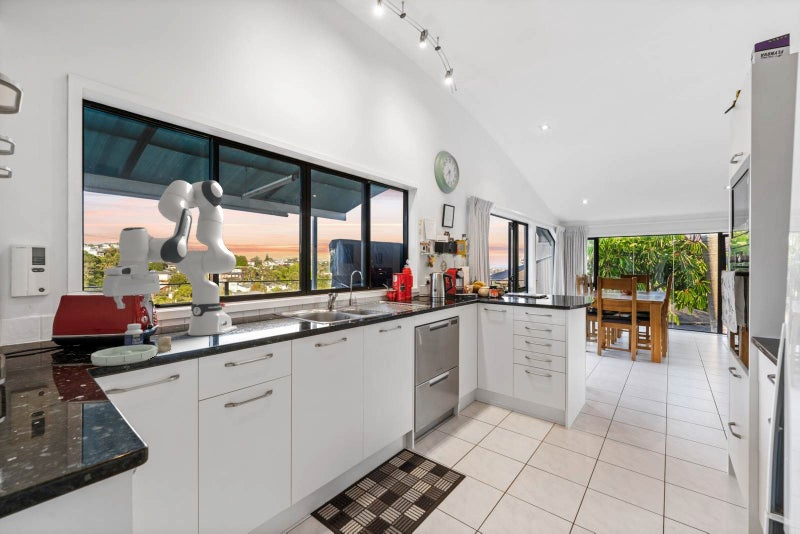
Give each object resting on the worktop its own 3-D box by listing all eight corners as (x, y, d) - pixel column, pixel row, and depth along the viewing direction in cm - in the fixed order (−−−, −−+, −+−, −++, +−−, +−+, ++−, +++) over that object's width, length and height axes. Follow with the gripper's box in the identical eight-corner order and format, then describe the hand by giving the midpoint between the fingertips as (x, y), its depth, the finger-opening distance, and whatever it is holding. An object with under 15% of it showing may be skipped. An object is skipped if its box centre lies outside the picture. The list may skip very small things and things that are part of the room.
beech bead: (164, 349, 130) (164, 336, 130) (173, 350, 129) (173, 336, 129) (155, 352, 126) (155, 338, 126) (164, 352, 125) (164, 339, 125)
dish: (127, 351, 126) (127, 344, 126) (168, 353, 124) (168, 345, 124) (77, 364, 110) (77, 355, 110) (123, 367, 107) (123, 358, 107)
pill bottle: (132, 352, 125) (133, 325, 125) (120, 352, 126) (120, 325, 126) (146, 349, 130) (146, 323, 130) (134, 348, 131) (135, 323, 131)
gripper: (150, 270, 139) (150, 304, 139) (99, 269, 119) (98, 310, 119) (164, 270, 138) (164, 305, 138) (114, 269, 118) (114, 310, 118)
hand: (133, 307), depth 128 cm, fingers open, 8 cm apart
